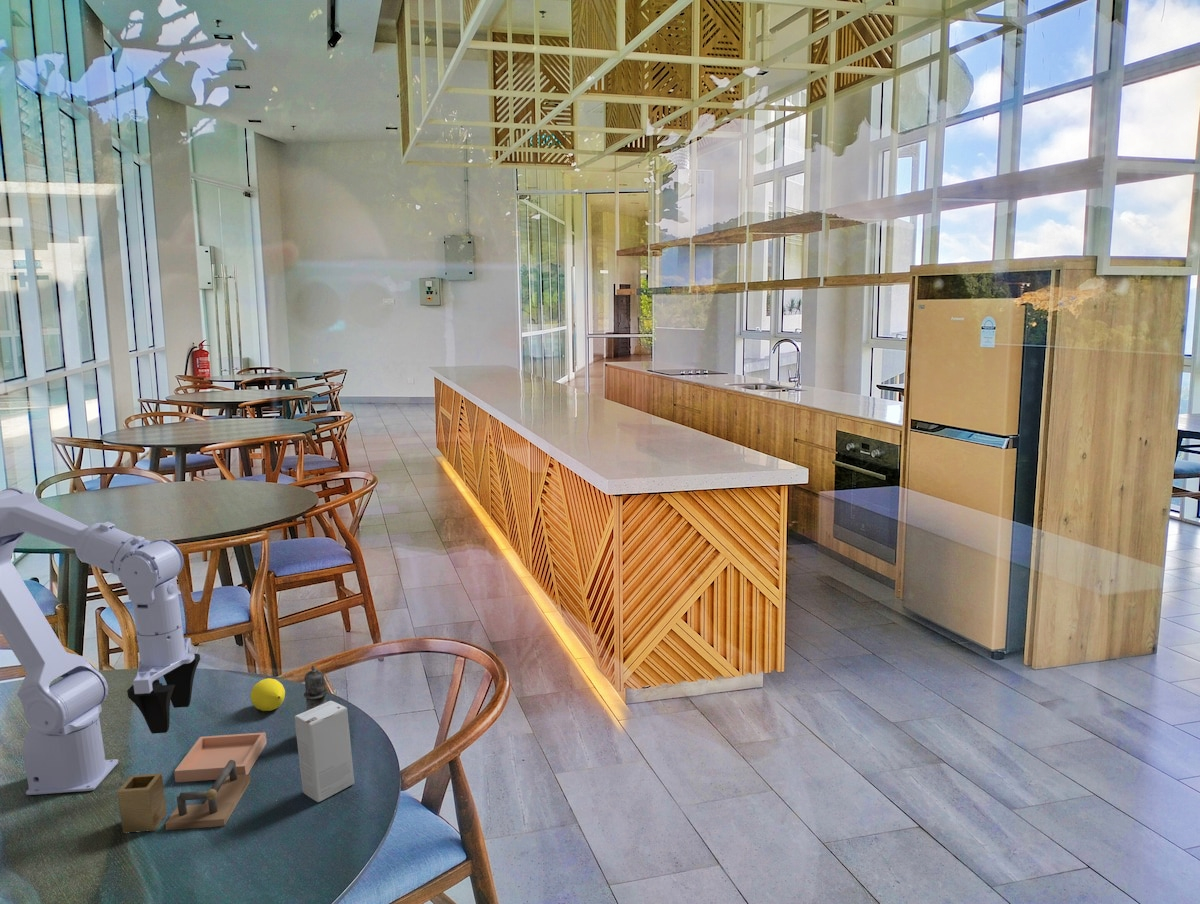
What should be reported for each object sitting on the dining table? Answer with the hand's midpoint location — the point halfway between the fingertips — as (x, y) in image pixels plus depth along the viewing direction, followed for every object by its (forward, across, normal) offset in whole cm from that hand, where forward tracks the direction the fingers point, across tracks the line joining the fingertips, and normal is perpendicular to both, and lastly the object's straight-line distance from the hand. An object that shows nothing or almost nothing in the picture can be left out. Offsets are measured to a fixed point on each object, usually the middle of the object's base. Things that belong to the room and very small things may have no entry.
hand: (171, 718), depth 123 cm
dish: (+10, +6, -4) cm, 13 cm away
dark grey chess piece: (+11, +12, -17) cm, 23 cm away
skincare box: (+11, -4, -22) cm, 25 cm away
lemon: (+11, +23, -6) cm, 26 cm away
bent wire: (+10, -5, -6) cm, 13 cm away
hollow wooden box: (+10, -9, +1) cm, 14 cm away
